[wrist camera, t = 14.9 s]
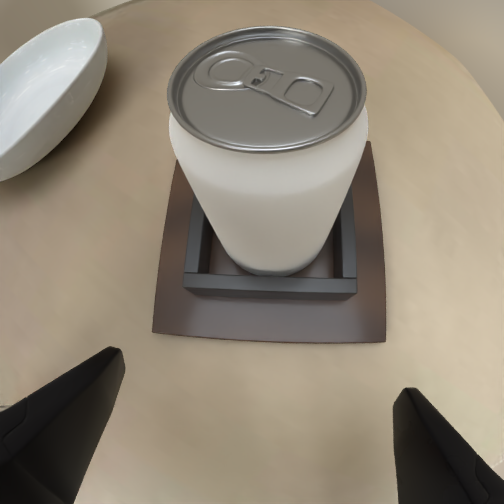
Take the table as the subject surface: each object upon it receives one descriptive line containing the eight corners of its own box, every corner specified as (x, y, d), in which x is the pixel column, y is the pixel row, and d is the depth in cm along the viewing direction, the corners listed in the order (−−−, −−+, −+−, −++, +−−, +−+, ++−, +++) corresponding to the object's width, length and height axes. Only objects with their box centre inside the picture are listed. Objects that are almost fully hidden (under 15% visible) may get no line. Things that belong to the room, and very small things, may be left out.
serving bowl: (-22, 237, 22) (-66, 214, 16) (-2, 111, 29) (-27, 84, 22) (137, 141, 23) (103, 86, 16) (120, 36, 29) (102, -3, 23)
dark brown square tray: (380, 342, 17) (402, 341, 14) (157, 333, 19) (134, 330, 15) (367, 148, 21) (378, 119, 18) (184, 145, 23) (171, 116, 19)
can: (253, 166, 20) (229, 8, 9) (341, 208, 19) (401, 58, 7) (201, 248, 19) (108, 121, 7) (295, 299, 18) (331, 215, 6)
